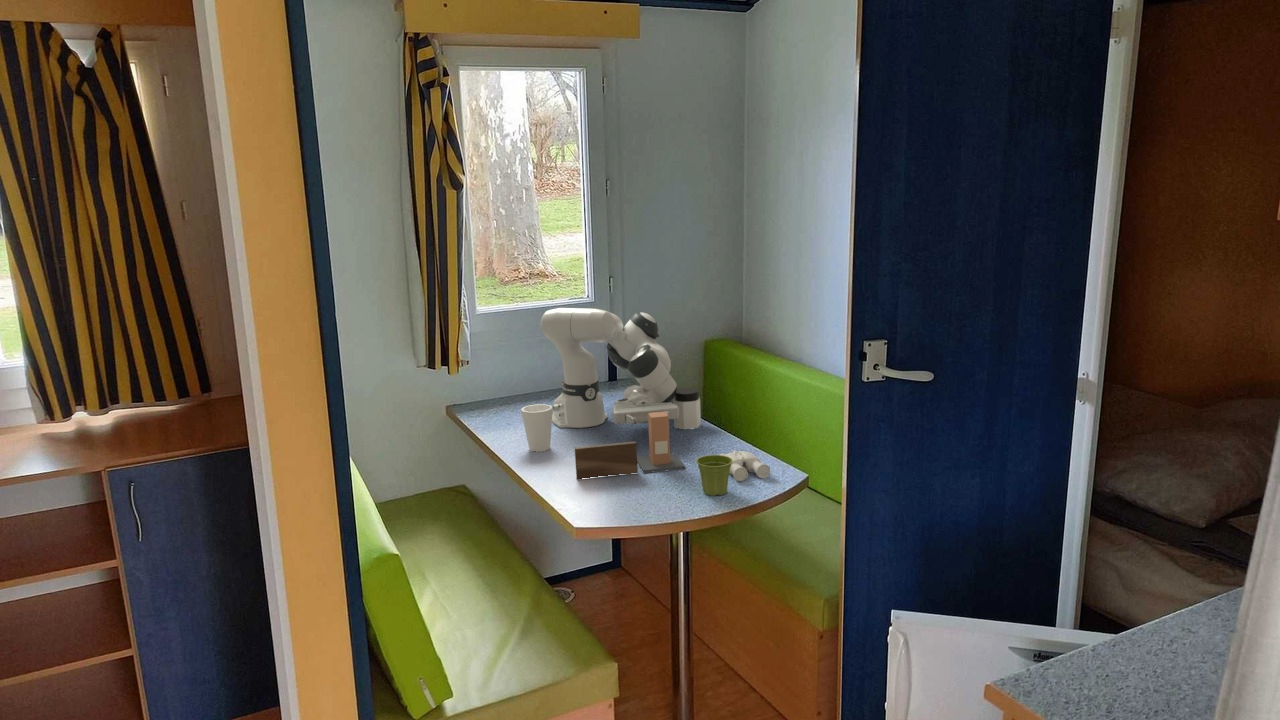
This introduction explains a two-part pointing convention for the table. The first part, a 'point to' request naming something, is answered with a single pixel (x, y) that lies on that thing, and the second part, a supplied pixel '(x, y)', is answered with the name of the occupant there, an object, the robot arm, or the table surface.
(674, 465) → the slate pad
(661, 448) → the marked block
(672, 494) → the table surface
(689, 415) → the jar
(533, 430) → the foam cup
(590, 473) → the low board
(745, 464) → the binoculars
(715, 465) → the plant pot
